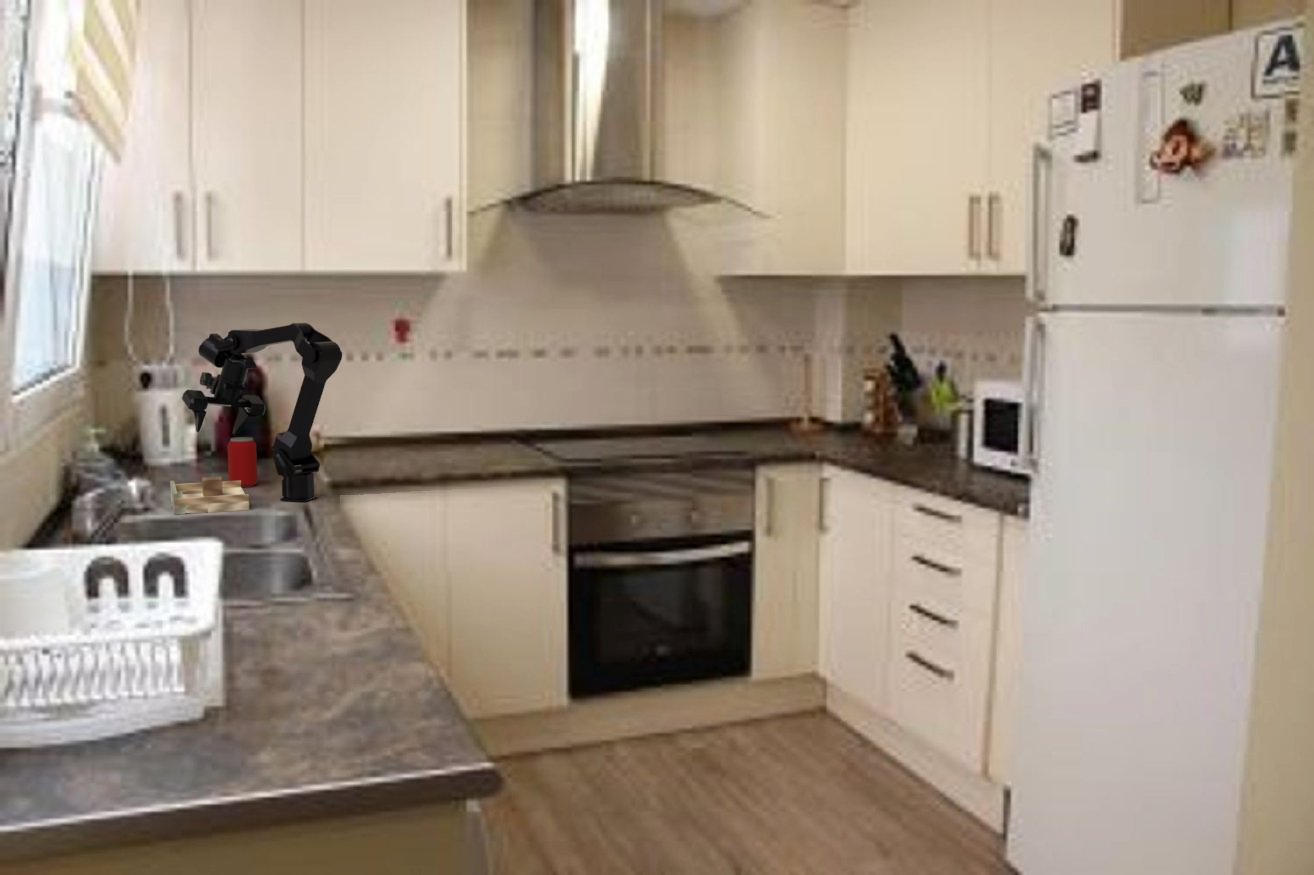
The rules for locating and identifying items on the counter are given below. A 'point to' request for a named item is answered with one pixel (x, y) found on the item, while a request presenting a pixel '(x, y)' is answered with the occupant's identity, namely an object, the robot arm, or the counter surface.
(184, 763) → the counter surface
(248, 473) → the beverage can
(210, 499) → the trap track
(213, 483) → the walnut block
